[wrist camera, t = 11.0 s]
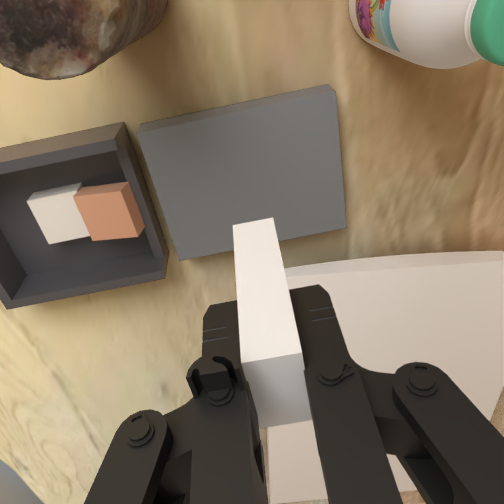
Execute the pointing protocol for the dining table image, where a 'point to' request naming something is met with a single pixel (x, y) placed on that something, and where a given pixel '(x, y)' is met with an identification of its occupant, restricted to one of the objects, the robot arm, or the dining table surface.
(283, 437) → the board
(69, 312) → the dining table surface
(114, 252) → the box
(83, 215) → the tile terracotta
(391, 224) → the dining table surface
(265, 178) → the slate board
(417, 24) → the milk bottle
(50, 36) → the candle
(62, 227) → the tile white
